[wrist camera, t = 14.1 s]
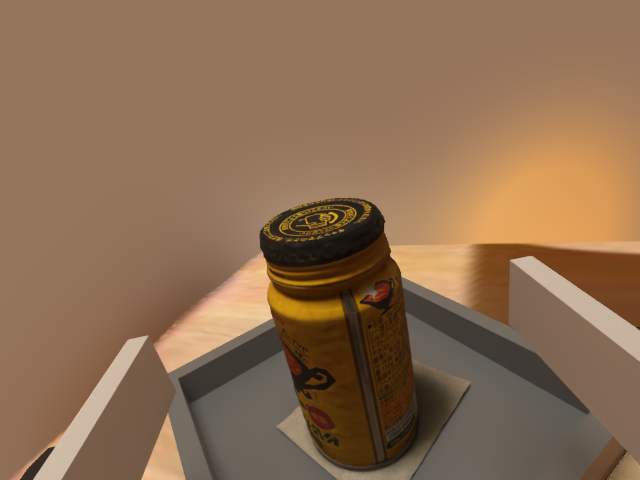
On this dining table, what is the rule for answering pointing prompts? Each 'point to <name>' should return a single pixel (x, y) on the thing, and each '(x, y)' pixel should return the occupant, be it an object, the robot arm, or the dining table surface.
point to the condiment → (351, 344)
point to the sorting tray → (452, 441)
